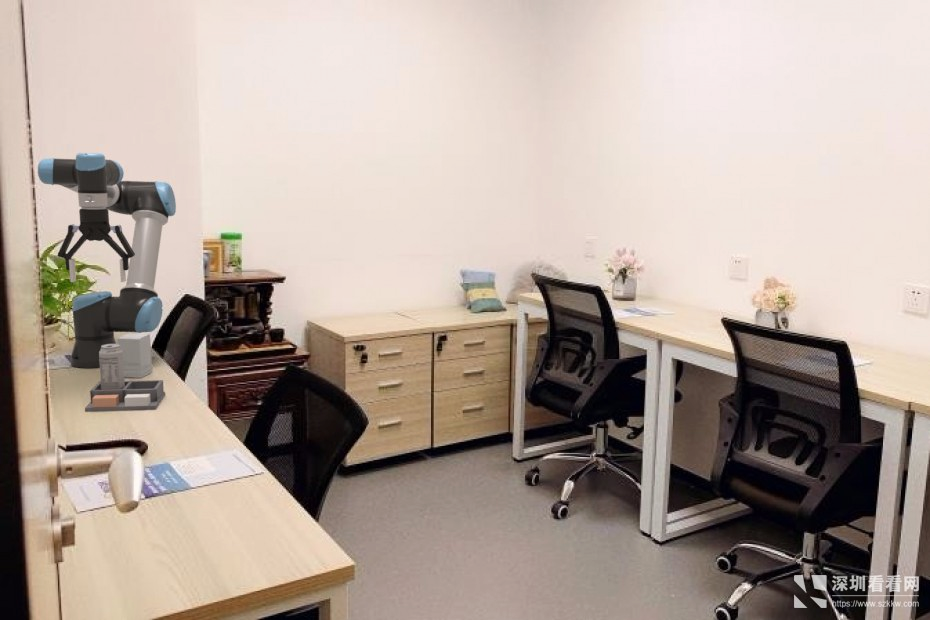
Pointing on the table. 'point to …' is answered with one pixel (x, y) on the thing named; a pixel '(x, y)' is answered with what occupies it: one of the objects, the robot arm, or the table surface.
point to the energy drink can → (111, 367)
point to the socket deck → (130, 390)
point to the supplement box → (136, 354)
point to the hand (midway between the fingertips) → (98, 281)
